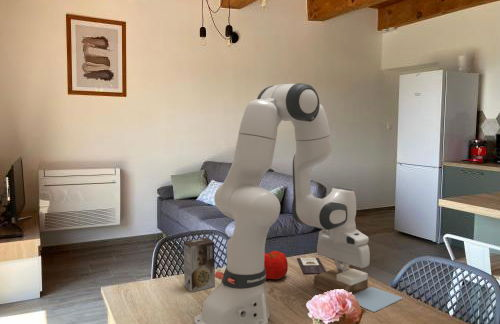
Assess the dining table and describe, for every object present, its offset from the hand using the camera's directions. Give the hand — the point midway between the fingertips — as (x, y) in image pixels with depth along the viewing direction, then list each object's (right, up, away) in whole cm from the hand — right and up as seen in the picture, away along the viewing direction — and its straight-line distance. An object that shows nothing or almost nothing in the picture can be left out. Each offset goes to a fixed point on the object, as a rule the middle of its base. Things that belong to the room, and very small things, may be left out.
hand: (341, 273), depth 145 cm
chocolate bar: (-7, -4, +22) cm, 23 cm away
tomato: (-23, -4, +10) cm, 26 cm away
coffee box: (-49, -5, +1) cm, 49 cm away
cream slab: (+3, -1, -3) cm, 5 cm away
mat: (+8, -6, -9) cm, 14 cm away
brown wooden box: (0, -5, +1) cm, 5 cm away
